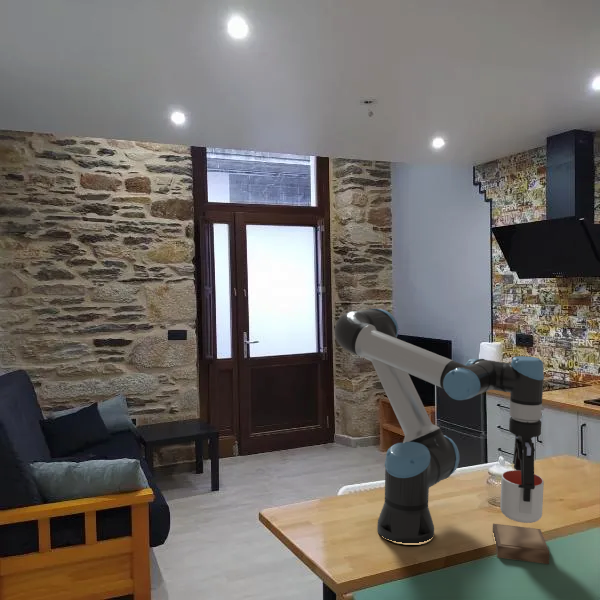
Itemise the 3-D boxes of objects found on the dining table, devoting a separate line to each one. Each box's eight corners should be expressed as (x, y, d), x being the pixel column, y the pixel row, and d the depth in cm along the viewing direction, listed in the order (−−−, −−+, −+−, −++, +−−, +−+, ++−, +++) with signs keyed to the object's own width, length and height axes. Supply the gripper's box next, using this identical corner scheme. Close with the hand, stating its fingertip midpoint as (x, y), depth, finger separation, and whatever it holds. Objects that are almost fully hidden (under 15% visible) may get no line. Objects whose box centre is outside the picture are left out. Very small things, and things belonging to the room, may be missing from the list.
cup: (546, 527, 137) (548, 488, 136) (503, 523, 139) (505, 484, 138) (536, 508, 147) (538, 471, 146) (497, 504, 149) (498, 468, 148)
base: (497, 557, 139) (497, 545, 139) (492, 534, 151) (492, 522, 151) (549, 564, 136) (549, 551, 136) (539, 539, 148) (540, 528, 148)
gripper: (550, 433, 129) (546, 525, 131) (533, 407, 151) (529, 487, 153) (516, 430, 131) (512, 521, 132) (504, 405, 153) (501, 484, 154)
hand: (521, 503), depth 143 cm, fingers closed on cup, 10 cm apart
